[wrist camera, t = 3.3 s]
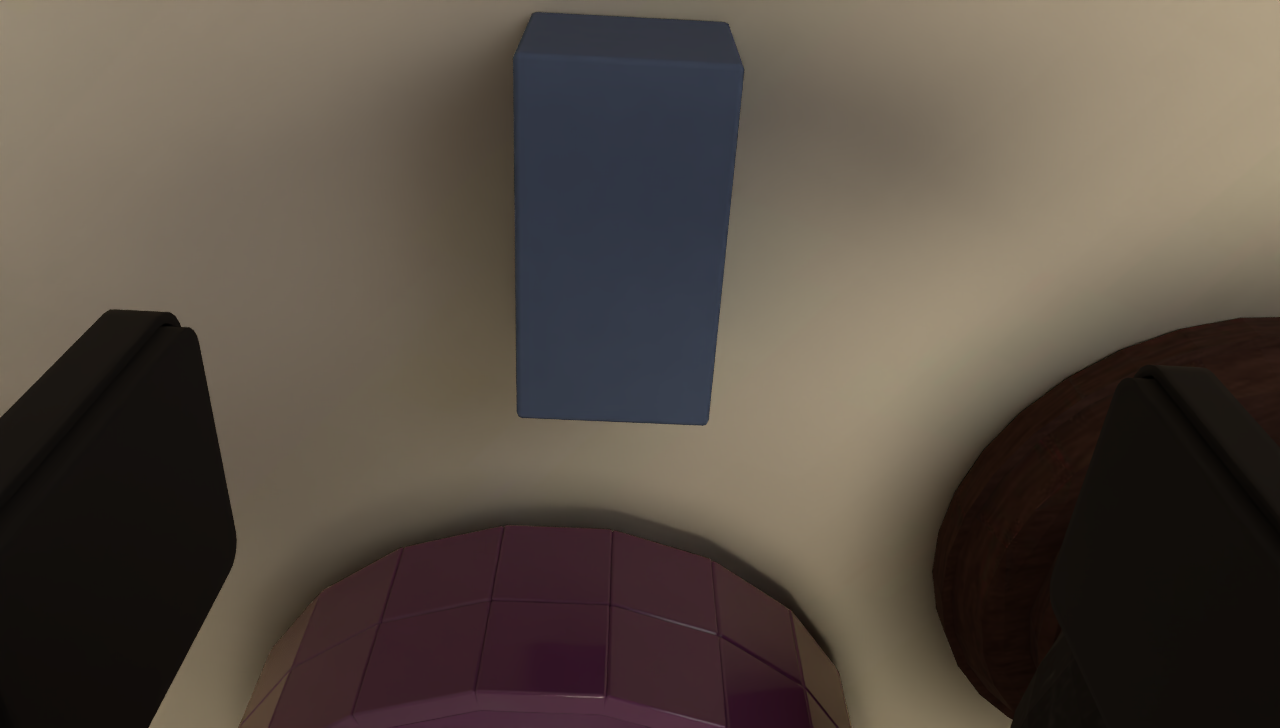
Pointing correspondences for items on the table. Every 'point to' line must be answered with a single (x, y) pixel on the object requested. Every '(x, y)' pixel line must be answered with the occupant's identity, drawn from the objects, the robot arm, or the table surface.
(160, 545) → the robot arm
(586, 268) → the blue block
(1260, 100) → the table surface
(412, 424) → the table surface
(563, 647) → the bowl
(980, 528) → the black crystal ball
